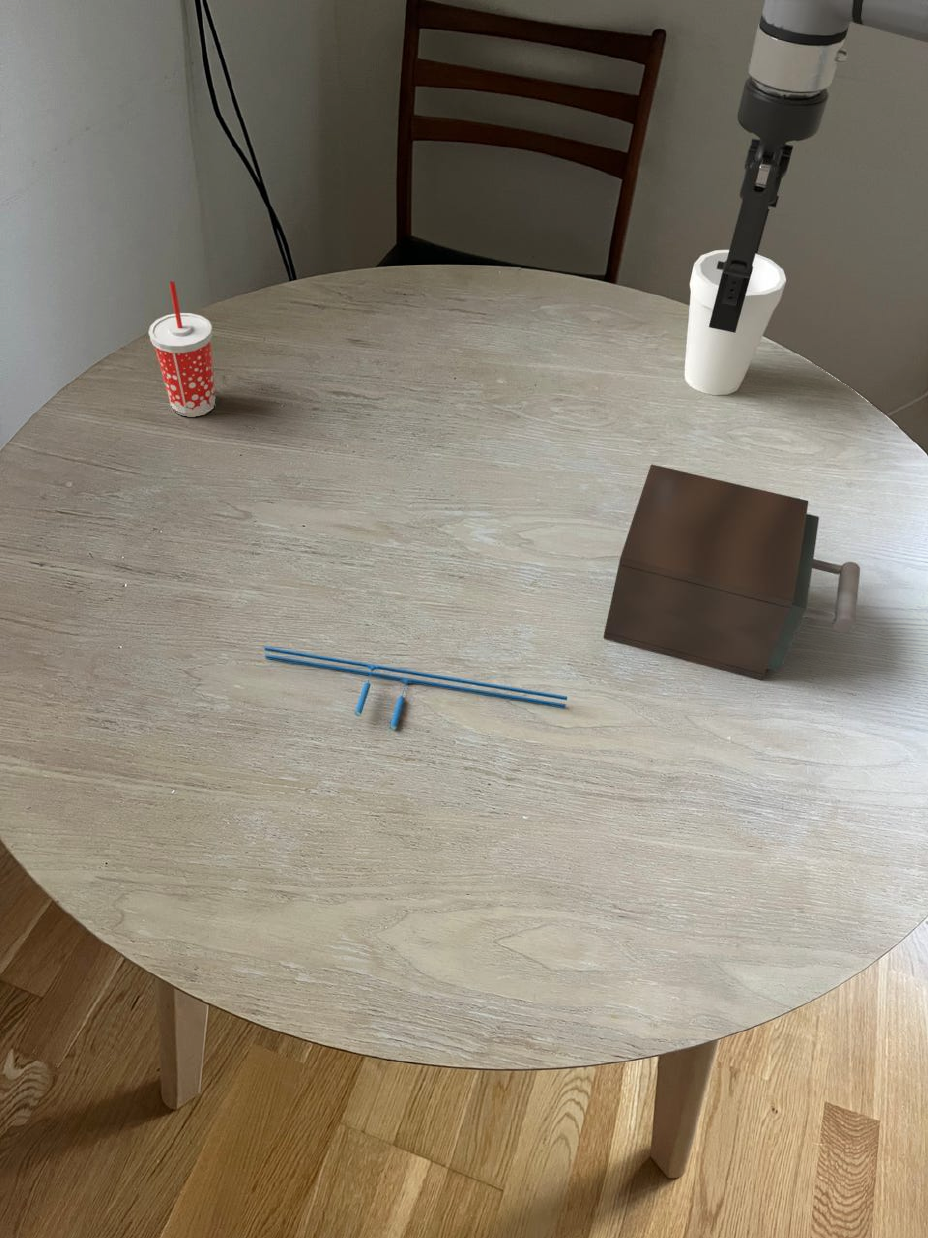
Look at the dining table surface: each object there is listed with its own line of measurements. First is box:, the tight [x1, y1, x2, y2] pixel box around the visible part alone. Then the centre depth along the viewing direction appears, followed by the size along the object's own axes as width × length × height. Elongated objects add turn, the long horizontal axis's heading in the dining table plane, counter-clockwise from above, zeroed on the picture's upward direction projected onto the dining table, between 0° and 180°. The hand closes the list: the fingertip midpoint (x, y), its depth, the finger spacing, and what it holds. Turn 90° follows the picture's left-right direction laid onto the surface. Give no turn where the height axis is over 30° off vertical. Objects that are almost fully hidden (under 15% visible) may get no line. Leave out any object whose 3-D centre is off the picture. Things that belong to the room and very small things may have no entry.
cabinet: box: [603, 463, 809, 681], centre depth 89 cm, size 14×13×10 cm
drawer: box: [766, 513, 861, 673], centre depth 88 cm, size 17×11×8 cm
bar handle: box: [263, 646, 568, 730], centre depth 83 cm, size 1×25×5 cm
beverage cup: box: [148, 280, 217, 413], centre depth 104 cm, size 6×6×14 cm
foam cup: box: [684, 249, 787, 396], centre depth 112 cm, size 10×9×13 cm
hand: (731, 295), depth 109 cm, fingers open, 13 cm apart
